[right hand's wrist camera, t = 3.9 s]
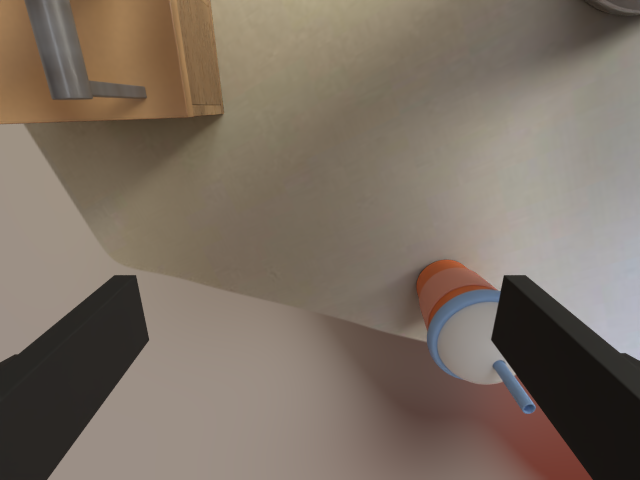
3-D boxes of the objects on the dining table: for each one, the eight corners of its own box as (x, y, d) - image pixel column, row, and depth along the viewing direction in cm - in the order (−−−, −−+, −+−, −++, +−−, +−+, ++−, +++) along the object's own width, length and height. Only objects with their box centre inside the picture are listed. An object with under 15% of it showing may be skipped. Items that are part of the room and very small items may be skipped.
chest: (210, -2, 31) (153, -57, 20) (224, 113, 34) (181, 117, 24) (67, 4, 31) (-63, -48, 21) (95, 118, 35) (-4, 123, 24)
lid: (167, -58, 20) (67, -166, 12) (194, 117, 24) (129, 122, 16) (-63, -48, 21) (-312, -148, 12) (-5, 124, 24) (-170, 133, 16)
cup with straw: (402, 319, 42) (456, 460, 26) (403, 249, 39) (466, 357, 22) (479, 315, 42) (584, 454, 25) (486, 244, 39) (612, 349, 22)
